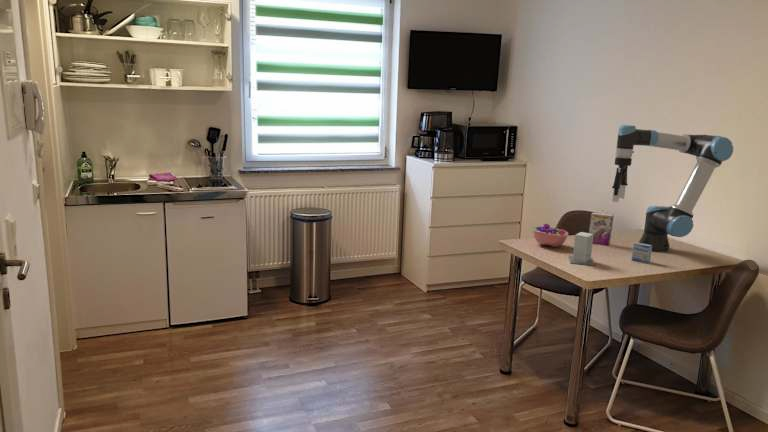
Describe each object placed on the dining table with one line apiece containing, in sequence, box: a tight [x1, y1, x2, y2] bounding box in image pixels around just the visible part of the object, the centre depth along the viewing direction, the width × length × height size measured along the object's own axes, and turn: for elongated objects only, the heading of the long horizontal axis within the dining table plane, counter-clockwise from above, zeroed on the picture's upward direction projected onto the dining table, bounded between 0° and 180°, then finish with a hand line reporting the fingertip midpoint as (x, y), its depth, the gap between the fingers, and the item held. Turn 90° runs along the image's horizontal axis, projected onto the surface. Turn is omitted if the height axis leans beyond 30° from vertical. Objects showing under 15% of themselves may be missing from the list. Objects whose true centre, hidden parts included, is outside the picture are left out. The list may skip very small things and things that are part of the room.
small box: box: [572, 231, 594, 263], centre depth 274 cm, size 8×6×13 cm
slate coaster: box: [568, 255, 596, 267], centre depth 276 cm, size 11×13×1 cm
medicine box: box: [631, 241, 653, 264], centre depth 279 cm, size 8×4×9 cm, turn 53°
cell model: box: [532, 223, 569, 248], centre depth 302 cm, size 17×20×11 cm
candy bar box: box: [588, 211, 615, 247], centre depth 311 cm, size 11×5×16 cm, turn 58°
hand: (618, 200), depth 282 cm, fingers open, 13 cm apart
